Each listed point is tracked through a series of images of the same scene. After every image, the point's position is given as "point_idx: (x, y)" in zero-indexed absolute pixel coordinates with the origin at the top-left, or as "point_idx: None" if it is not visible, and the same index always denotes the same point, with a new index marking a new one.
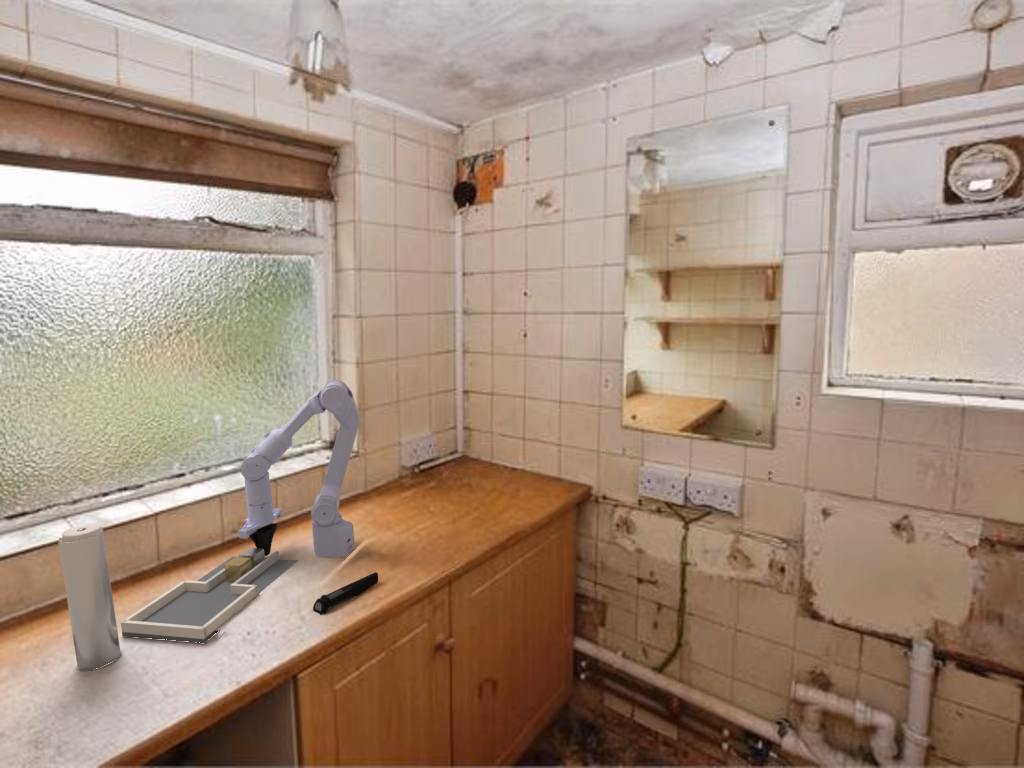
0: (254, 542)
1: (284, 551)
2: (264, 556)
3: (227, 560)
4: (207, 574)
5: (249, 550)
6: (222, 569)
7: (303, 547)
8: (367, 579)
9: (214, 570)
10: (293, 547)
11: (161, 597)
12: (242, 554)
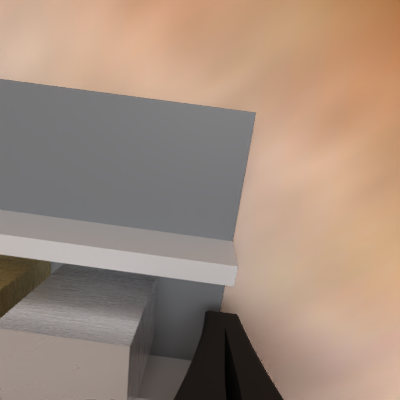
0: (175, 397)
1: (334, 334)
2: (140, 380)
3: (196, 108)
4: (3, 87)
5: (84, 368)
6: (75, 148)
7: (365, 393)
8: None
9: (56, 102)
10: (375, 356)
11: None
12: (9, 350)
